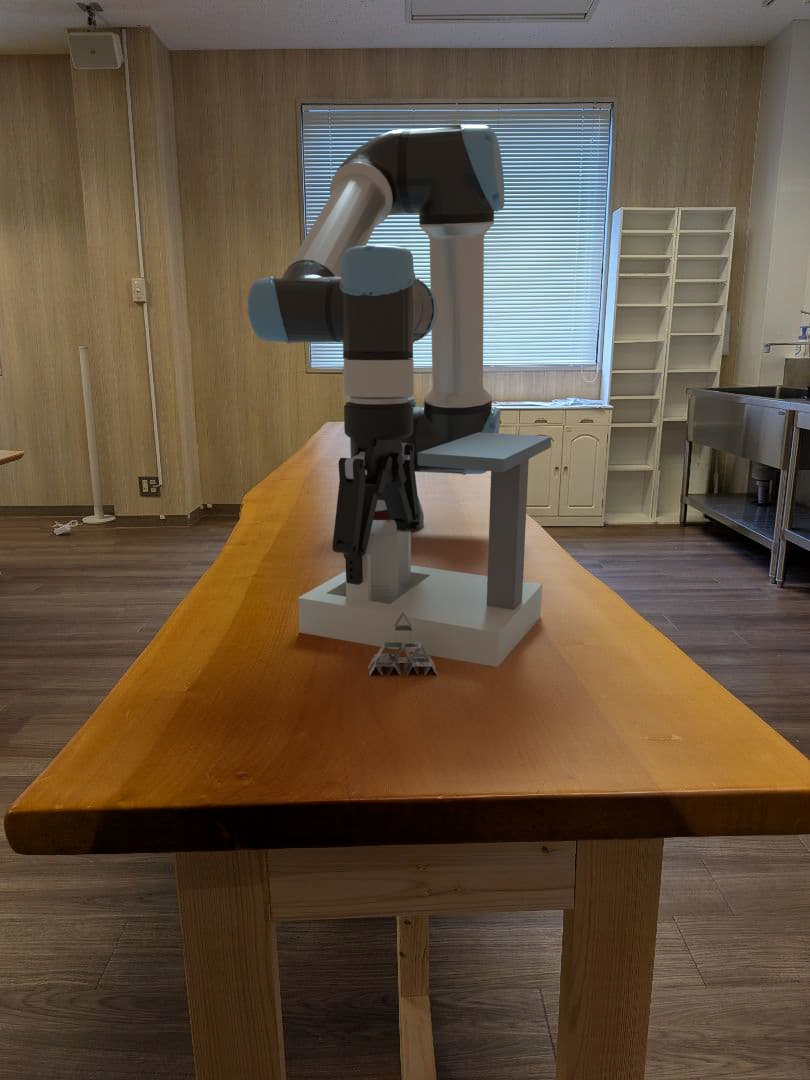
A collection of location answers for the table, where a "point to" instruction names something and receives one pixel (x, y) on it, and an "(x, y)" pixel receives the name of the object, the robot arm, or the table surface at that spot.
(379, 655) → the house of cards
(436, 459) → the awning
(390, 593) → the skincare box
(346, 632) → the socket block
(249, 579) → the table surface
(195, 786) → the table surface
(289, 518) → the table surface
